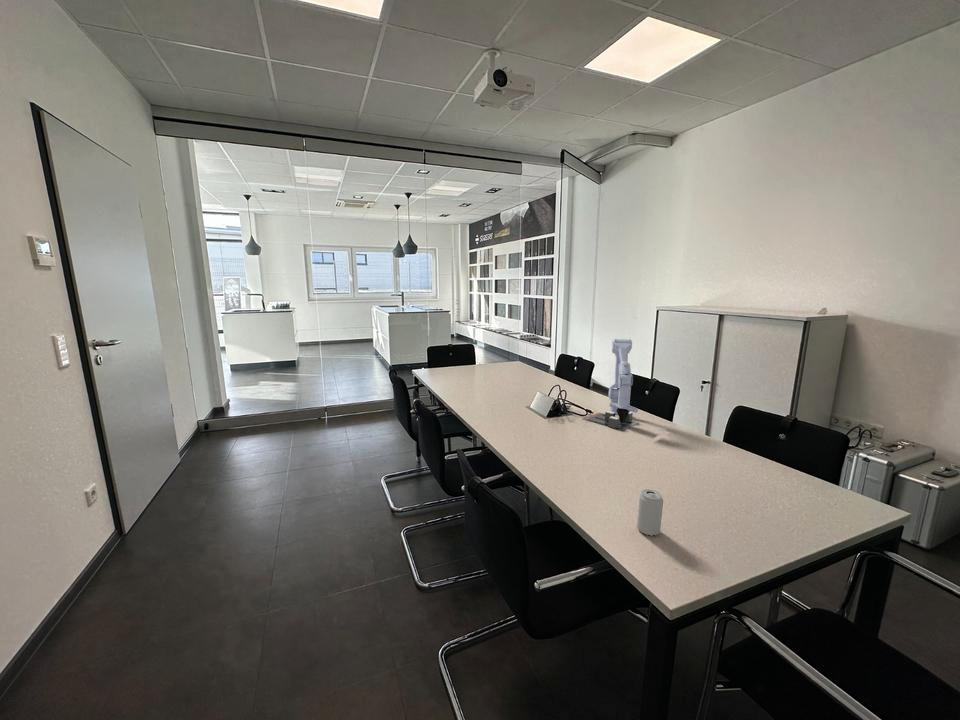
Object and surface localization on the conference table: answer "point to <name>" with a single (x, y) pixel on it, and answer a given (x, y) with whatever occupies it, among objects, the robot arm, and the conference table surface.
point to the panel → (600, 419)
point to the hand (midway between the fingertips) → (622, 422)
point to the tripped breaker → (609, 415)
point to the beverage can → (650, 512)
